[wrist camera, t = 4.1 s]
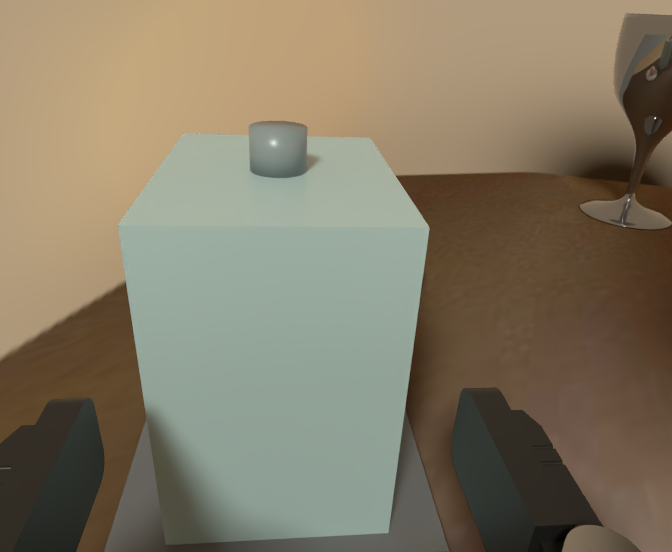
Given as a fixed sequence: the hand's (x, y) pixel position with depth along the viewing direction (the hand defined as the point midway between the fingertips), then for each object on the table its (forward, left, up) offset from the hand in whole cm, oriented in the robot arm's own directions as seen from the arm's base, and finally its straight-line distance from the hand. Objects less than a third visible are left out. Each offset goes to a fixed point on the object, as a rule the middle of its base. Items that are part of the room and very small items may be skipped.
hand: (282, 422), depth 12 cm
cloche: (0, -6, -6) cm, 8 cm away
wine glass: (-29, -31, -7) cm, 43 cm away
